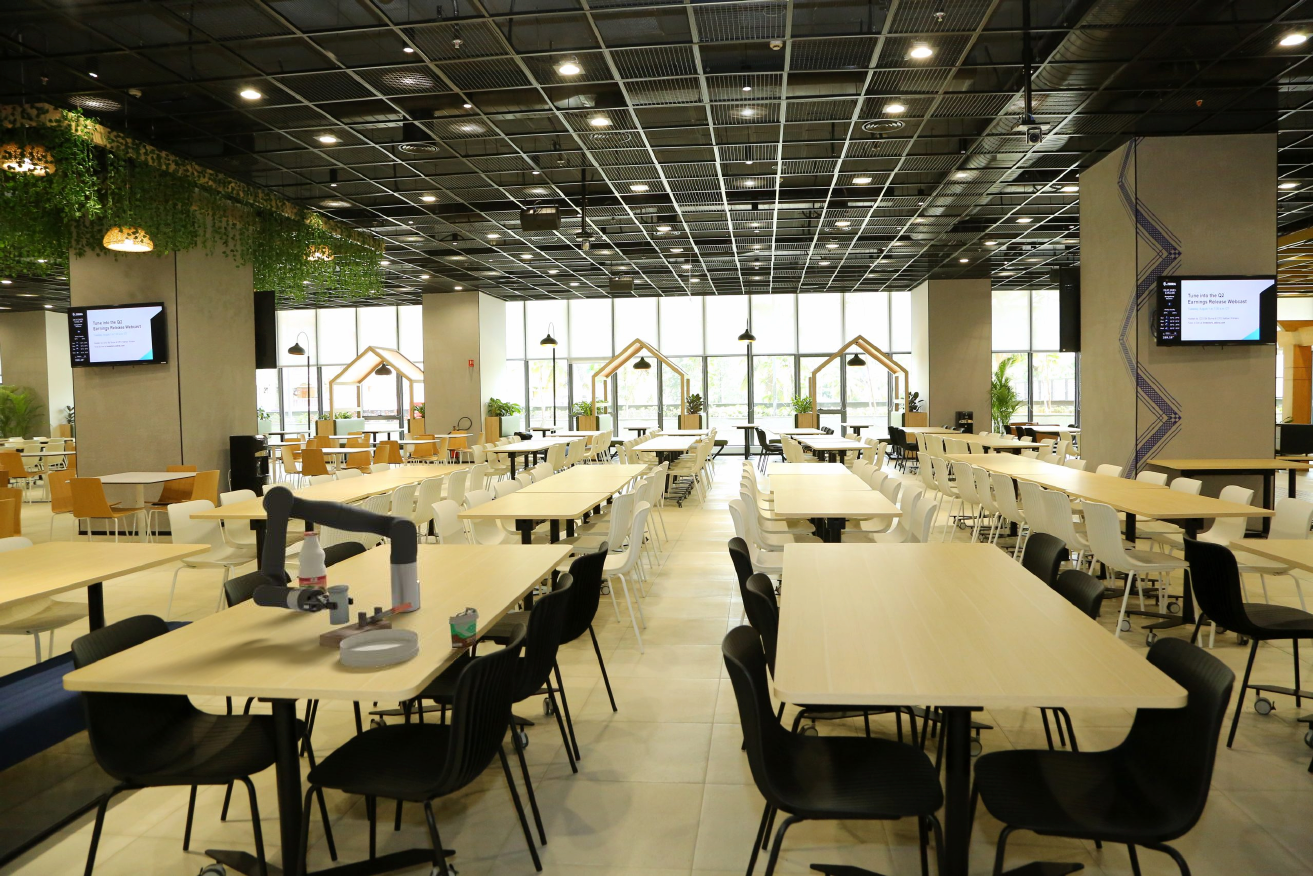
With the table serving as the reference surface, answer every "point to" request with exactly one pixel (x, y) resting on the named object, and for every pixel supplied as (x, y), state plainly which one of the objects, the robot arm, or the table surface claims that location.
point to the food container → (464, 628)
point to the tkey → (388, 612)
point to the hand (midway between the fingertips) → (344, 603)
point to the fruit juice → (312, 563)
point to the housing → (354, 629)
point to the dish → (379, 647)
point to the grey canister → (339, 604)
